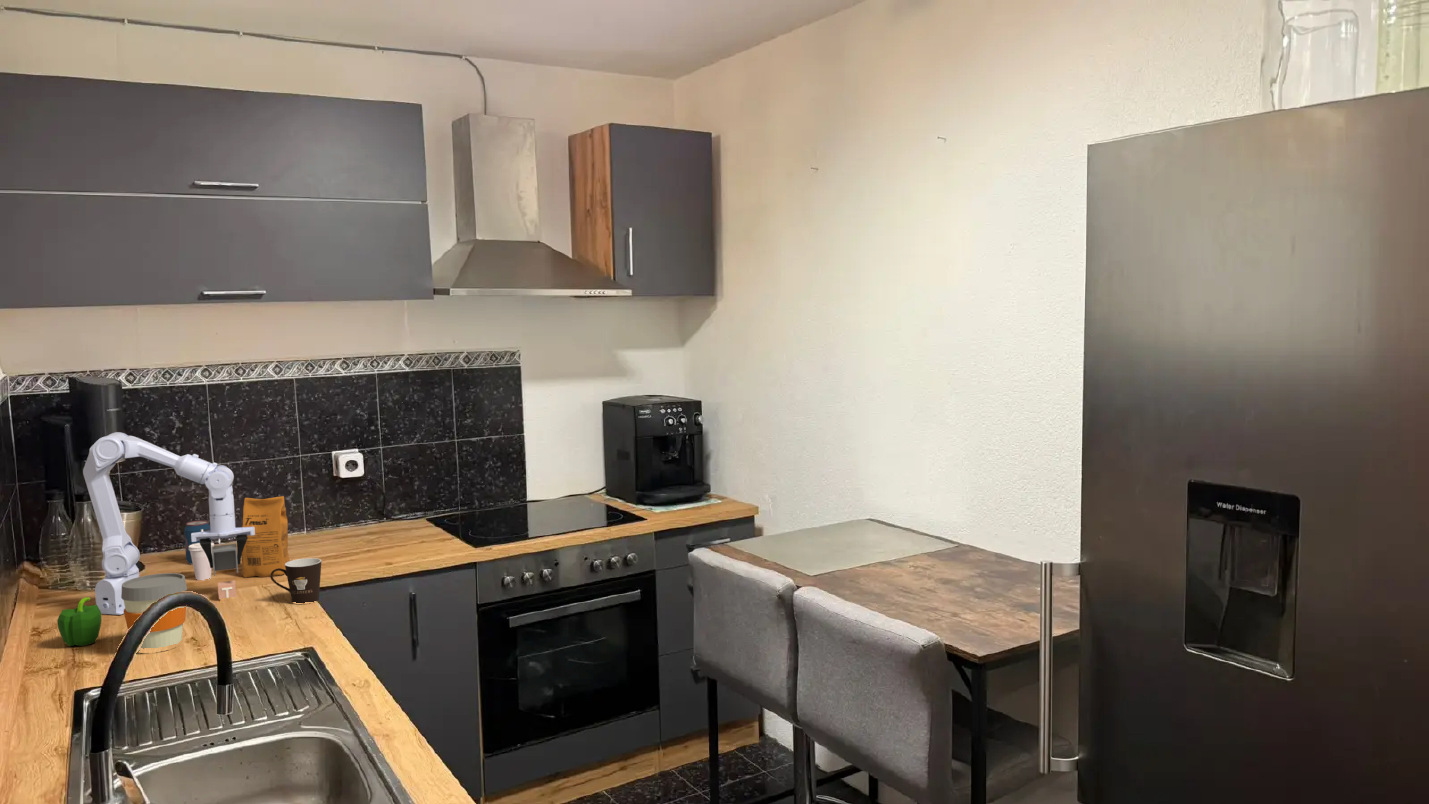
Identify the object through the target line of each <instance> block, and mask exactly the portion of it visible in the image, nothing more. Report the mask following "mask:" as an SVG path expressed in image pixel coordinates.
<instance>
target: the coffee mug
mask: <svg viewBox="0 0 1429 804" xmlns="http://www.w3.org/2000/svg"><path fill="white" fill-rule="evenodd" d="M285 568H286V570H284V569H281V568H278V569H275V570H273V571H272V572H271V575H270V580H271V581H272V582H273V583H274V584H275V585H276V586H278V587H279V588H281V589H284V590H286V591H288V592H289V594H290V599H291V603H292V602H296V603H305V602H313V603H315V602H314V601H316V602H317V601H319V600H320V591H321V589H320V588H321V574H322V559H320V558H316V557H307V558H304V557H303V558H297V559H293V560H290V561H289V562H287V563H285ZM276 571H282V572H284V575H285V576H286V578H287V584H288V587H287V586H284V585H283V584H281V583H279V582H278V581H276V579H275V578H274V576H273V573H274V572H276Z"/></svg>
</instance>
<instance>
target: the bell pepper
mask: <svg viewBox="0 0 1429 804" xmlns="http://www.w3.org/2000/svg"><path fill="white" fill-rule="evenodd" d="M90 600H91V598H90V596H89V597H88V596H87V597H86V596H85V597H84V598H82V599H80V600H79V602H78V604H77V607H75V608H74V609H72V608H66V609H62V611H61V612H60V613H59V616H58V618H57V622H56V623H57V629H58V631H59V634H60V636H61V639H62V641H63V642H64V643H65V644H66V645H67V646H68V647H74V645H76V646H82V647H83V646H88V645H91V644H94V643H95V642H96V641H97V639H98V638H99V635H100V630H101V625H102V614H101V611H100V610H99V608H98V606H97V605H96V604H93V605H85V602H89V601H90Z"/></svg>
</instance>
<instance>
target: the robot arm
mask: <svg viewBox="0 0 1429 804" xmlns="http://www.w3.org/2000/svg"><path fill="white" fill-rule="evenodd" d="M138 457H139V458H140V457H141V458H143V459H144V458H145V459H147V460H150V461H153V462H156V463H158V464H161V465H165V466H168V467H170V468H173V469H174V471H175V473H176V475H177V476H180V477H182V478H184V479H188V480H190V481H192V482H195V483H198V484H200V485H205V486H206V488H207V489H208V507H209V508H208V510H209V526H210V528H211V530H210V531H204V532H197V533H191V540H192V542H196V541H200V545H201V547H202V549H203V550H204V552H205V554H206V556H207V558H208V561H209V564H210V568H212V569H213V557H212V550H211V543H212V540H217V539H227V538H234V537H235V538H236V547H237V562H238V566H239V565H242V552H243V549H244V546H245V544H246V542H247V535H251V536H252V535H255V528H254V527H242V526H241V527H236V515H235V498H234V494H233V492H234V491H233V490H234V489H233V485H232V483H233V482H234V478H235V476H234V472H233V471H232V470H231V469H230V468H229V467H227V466H226V465H218V463H217V462H214V461H213V463H212V462H210V461H207V460H205V459H202V458H199V454H196V453H193V454H192V455H191V454H188V453H187V454H185V455H181V456H180V455H178V454H175V453H173V452H171V451H169V450H167V449H164V448H162V447H160V446H158V445H155V444H153V443H151V442H149V441H146V440H143V439H142V438H140V437H136V436H133V435H128V434H126V433H124V432H120V431H119V432H118V431H116V432H115V431H114V432H112V433H110V434H108V435H106V436H103V437H102V436H101V437H100V438H99V439H98V440H97V439H96V441H95V442H94V444H92V445H91V446H90V448H89V452H88V456H87V458H86V461H85V463H84V467H83V468H82V474H83V478H84V480H85V484H86V488H87V490H88V494H89V497H90V498H89V499H90V501H91V504H92V508H93V511H94V515H95V518H96V520H97V524H98V527H99V531H100V535H101V538H102V547H101V551H102V556H103V557H102V560H101V567H102V570H103V571H104V578H103V579H101V580H99V581H98V582H97V583H96V585H95V587H94V593H95V594H94V596H95V605H97V606H98V608H99V610H100V611H101V615H119V616H120V615H124V609H125V605H124V600H123V599H122V598H121V593H122V584H123V583H124V582H125V581H128V580H130V579H133V578H137V577H140V569H139V568H138V566H137V565H136V564H137V563H138V562H139V560H140V556H141V555H140V554H141V553H140V550H139V549H138V547H137V546H136V545H135V544H134V543H133V542H132V538H131V536H130V535H129V534H128V533H127V531H126V528H125V524H124V520H123V518H122V515H121V511H120V507H119V505H118V500H117V497H116V494H115V490H114V487H113V483H112V480H111V477H110V471H111V470H112V469H113V468H114V467H115V465H116V464H117V462H118V461H120V460H122V458H124V459H130V458H138Z"/></svg>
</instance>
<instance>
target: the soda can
mask: <svg viewBox="0 0 1429 804" xmlns="http://www.w3.org/2000/svg"><path fill="white" fill-rule="evenodd" d="M202 529H203V532H204V531H210V530H211V528H210V523H209V521H208V520H193V521H188V522H186V523H185V527H184V528H183V531H184V532H183V535H184V547H185V548H184V550H185V560H186V562H187V563H188V564H189V565H193V563H192V558H191V553H190V551H189V550H188V549H189V546H190V545H192V544H196V543H200V541H196V542H192V540H191V533H197V532H201V530H202Z"/></svg>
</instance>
